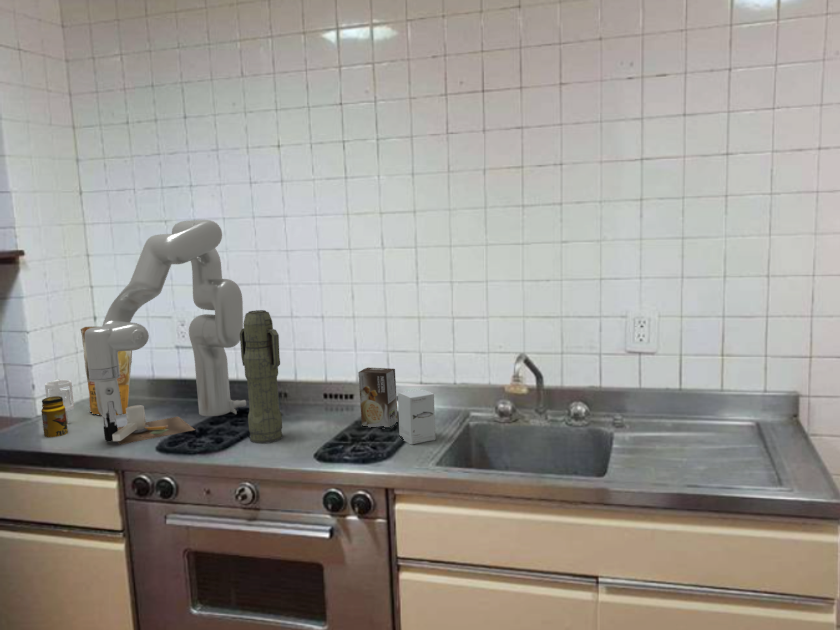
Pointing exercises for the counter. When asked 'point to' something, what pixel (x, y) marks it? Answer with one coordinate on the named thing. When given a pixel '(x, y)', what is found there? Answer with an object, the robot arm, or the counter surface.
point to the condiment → (54, 417)
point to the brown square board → (172, 427)
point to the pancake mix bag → (123, 381)
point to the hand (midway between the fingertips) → (111, 439)
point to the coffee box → (378, 397)
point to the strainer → (61, 392)
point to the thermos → (261, 376)
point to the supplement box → (416, 416)
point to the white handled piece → (134, 423)
